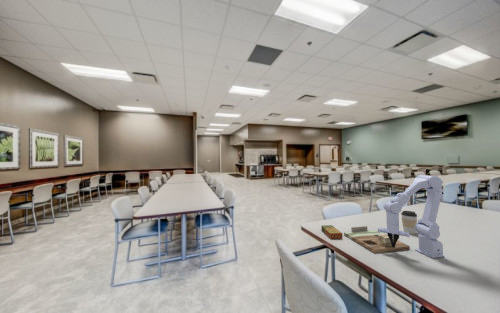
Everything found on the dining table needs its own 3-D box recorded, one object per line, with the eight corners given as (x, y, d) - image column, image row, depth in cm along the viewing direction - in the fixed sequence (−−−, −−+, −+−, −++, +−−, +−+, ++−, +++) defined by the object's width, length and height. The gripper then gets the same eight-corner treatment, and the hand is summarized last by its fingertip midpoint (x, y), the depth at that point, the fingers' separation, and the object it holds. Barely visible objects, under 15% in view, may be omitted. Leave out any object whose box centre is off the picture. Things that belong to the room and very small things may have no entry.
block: (392, 245, 110) (392, 237, 110) (385, 246, 109) (385, 238, 109) (385, 242, 114) (384, 234, 115) (378, 242, 114) (377, 234, 114)
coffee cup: (403, 233, 133) (402, 212, 133) (400, 228, 141) (399, 209, 141) (419, 235, 129) (419, 213, 129) (415, 230, 137) (414, 210, 137)
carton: (330, 239, 125) (330, 233, 125) (321, 230, 141) (321, 225, 141) (342, 239, 125) (342, 232, 125) (332, 230, 141) (331, 224, 141)
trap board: (409, 249, 109) (409, 240, 109) (373, 253, 105) (373, 244, 105) (373, 232, 135) (373, 225, 135) (343, 234, 131) (343, 227, 131)
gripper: (408, 223, 106) (408, 247, 106) (377, 219, 114) (377, 241, 114) (410, 227, 100) (410, 252, 100) (377, 222, 108) (378, 245, 108)
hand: (393, 246), depth 106 cm, fingers closed
